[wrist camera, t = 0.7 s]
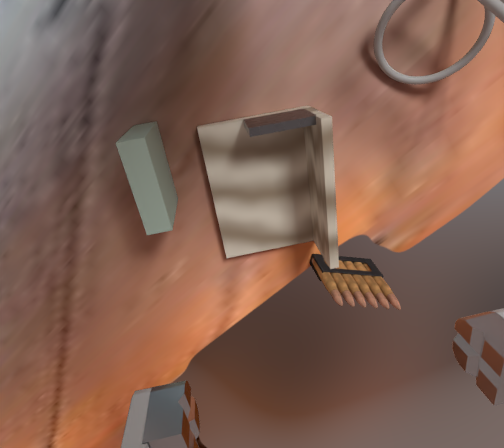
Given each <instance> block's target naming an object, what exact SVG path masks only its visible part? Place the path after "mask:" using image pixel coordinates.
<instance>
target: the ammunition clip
mask: <svg viewBox="0 0 504 448" xmlns="http://www.w3.org/2000/svg"><path fill="white" fill-rule="evenodd" d="M338 257H339V267H338V268H334V269H330V268H329V266H328V264H327V263H326V261H325V259H324V258H323V256H322V255H320V254H312V257H311V260H310V265H311V266H312V268H313V270H314V271H315V273H316V275H317V277H318V278H319V280H320V281H322V282H323V284H324V286H325V288H326V289H327V290H328V291H329V293H330V294H331V296H332V298H333V299H334V300H335V302H336V303H337V304H338V305H340V306H343V301H342V297H341V295H342V296H343V297H344V299H345V300H346V302H347V303H348V304H349V305H350V306H352V307H354V306H355V304H354V300H353V297H354V298H355V299H356V301H357V302H358V303H359V304H360V305H361V306H362V307H364V308H366V302H365V299H364V297H365V298H366V300H367V301H368V302H369V304H371V305H372V306H373V307H374V308H378V305H377V302H376V299H377V300H378V302H379V303H380V304H381V305H382V306H383V307H385V308H387V309H389V304H388V302H387V300H388V301H389V302H390V303H391V304H392V305H393V306H394V307H395V308H397V309H398V310H401V307H400V304H399V302H398V300H397V299H396V297H395V296H394V294H393V292H392V291H391V289H390V287H389V286H388V284H386V282H385V281H384V279H383V275H382V274H381V272H380V271H379V270H378V268H377V267H376V266H375V264H374V263H373V262H372V260H371V259H364V258H353V257H343V256H338ZM339 292H340V293H341V295H340V293H339ZM351 294H352V295H353V297H352V295H351ZM363 296H364V297H363ZM375 298H376V299H375Z"/></svg>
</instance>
